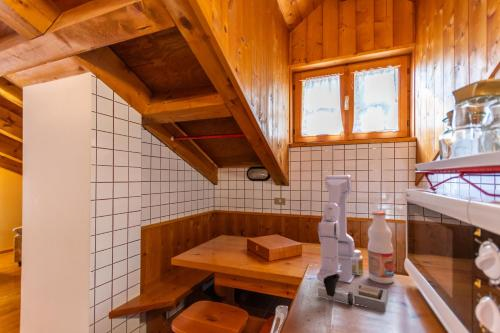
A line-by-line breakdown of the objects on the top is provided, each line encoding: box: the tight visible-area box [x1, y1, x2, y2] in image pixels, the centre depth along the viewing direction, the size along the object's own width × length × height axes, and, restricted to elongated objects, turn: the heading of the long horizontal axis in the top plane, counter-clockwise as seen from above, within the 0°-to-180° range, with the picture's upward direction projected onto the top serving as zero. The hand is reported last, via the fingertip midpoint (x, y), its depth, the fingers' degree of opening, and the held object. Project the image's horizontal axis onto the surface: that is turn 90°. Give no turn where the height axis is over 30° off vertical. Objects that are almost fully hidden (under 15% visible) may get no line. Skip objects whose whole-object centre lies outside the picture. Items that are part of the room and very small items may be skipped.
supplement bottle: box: [351, 249, 364, 276], centre depth 112 cm, size 5×5×10 cm
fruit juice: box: [367, 210, 395, 284], centre depth 105 cm, size 9×9×28 cm
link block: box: [357, 284, 381, 300], centre depth 87 cm, size 5×6×4 cm
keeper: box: [317, 286, 354, 307], centre depth 87 cm, size 12×1×4 cm, turn 57°
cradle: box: [353, 283, 389, 313], centre depth 87 cm, size 10×9×3 cm
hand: (330, 295), depth 87 cm, fingers closed
